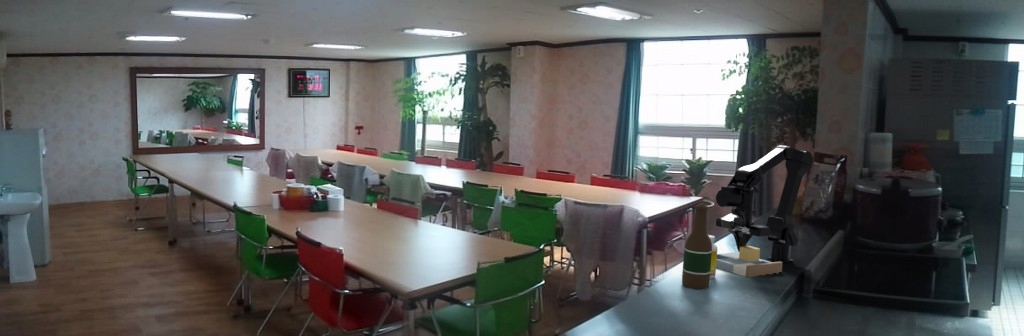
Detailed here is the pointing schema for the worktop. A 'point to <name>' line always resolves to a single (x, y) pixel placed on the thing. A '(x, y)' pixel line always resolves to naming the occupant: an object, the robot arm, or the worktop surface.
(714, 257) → the supplement bottle
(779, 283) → the worktop surface
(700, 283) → the beer bottle
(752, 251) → the block
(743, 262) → the board
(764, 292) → the worktop surface
